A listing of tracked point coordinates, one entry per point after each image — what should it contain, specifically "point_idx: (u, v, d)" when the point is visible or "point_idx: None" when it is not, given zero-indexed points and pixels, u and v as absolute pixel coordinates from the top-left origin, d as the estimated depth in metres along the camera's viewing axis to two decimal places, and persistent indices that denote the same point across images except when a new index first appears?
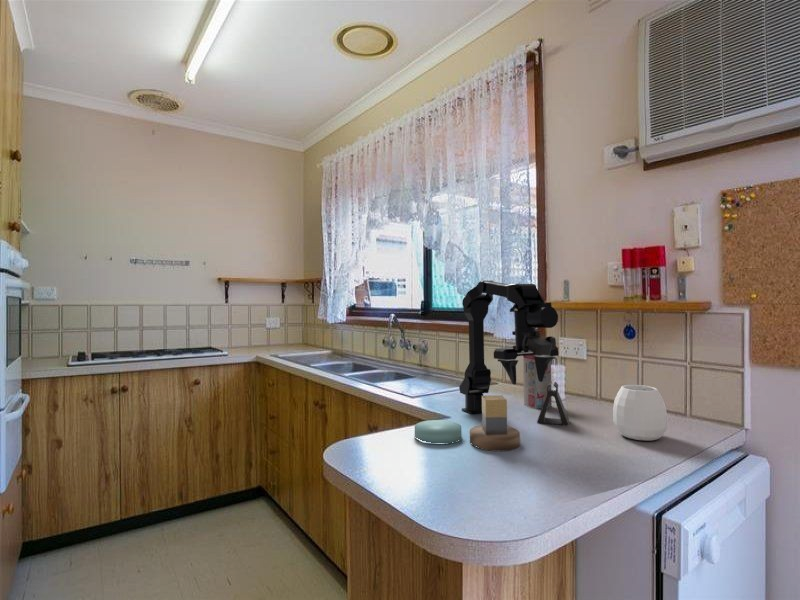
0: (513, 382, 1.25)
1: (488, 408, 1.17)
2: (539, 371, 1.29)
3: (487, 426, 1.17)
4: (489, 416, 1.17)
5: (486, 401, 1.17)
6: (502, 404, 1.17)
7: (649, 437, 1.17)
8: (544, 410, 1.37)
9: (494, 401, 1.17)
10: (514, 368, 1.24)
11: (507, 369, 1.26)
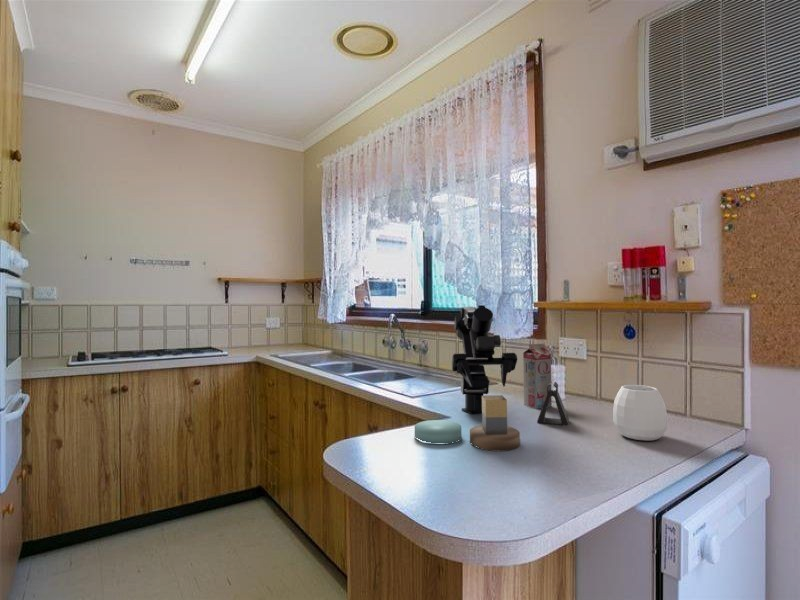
0: (470, 384, 1.28)
1: (488, 408, 1.17)
2: (502, 378, 1.30)
3: (487, 426, 1.17)
4: (489, 416, 1.17)
5: (486, 401, 1.17)
6: (502, 404, 1.17)
7: (649, 437, 1.17)
8: (544, 410, 1.37)
9: (494, 401, 1.17)
10: (467, 370, 1.30)
11: (465, 376, 1.31)
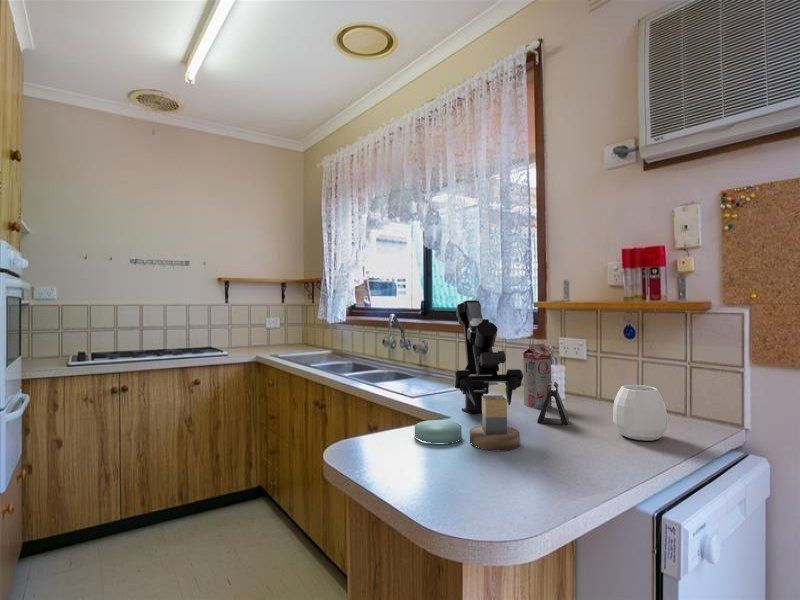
0: (474, 402, 1.22)
1: (488, 408, 1.17)
2: (507, 396, 1.24)
3: (487, 426, 1.17)
4: (489, 416, 1.17)
5: (486, 401, 1.17)
6: (502, 404, 1.17)
7: (649, 437, 1.17)
8: (544, 410, 1.37)
9: (494, 401, 1.17)
10: (471, 388, 1.24)
11: (468, 394, 1.25)
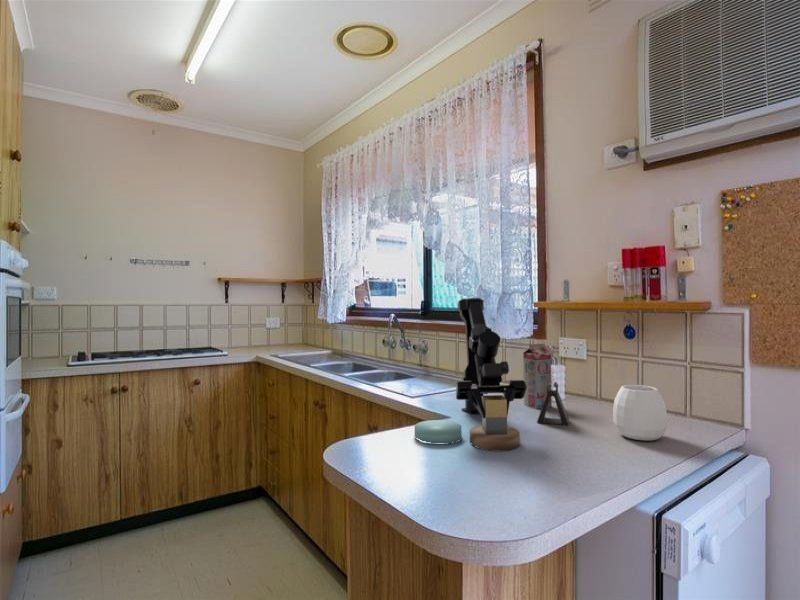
0: (482, 415, 1.19)
1: (488, 408, 1.17)
2: None
3: (487, 426, 1.17)
4: (489, 416, 1.17)
5: (486, 401, 1.17)
6: (502, 404, 1.17)
7: (649, 437, 1.17)
8: (544, 410, 1.37)
9: (494, 401, 1.17)
10: (479, 399, 1.20)
11: (476, 405, 1.22)
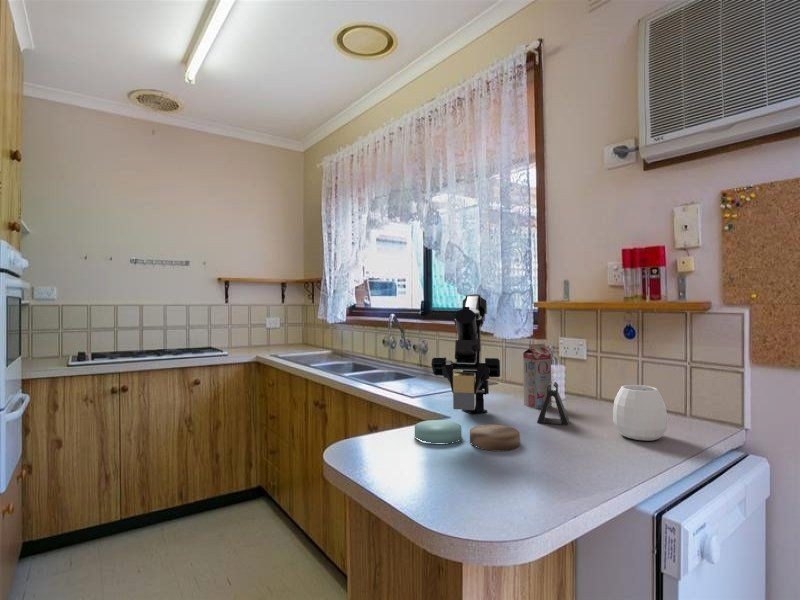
0: None
1: (455, 383, 1.19)
2: None
3: (454, 401, 1.19)
4: (456, 391, 1.19)
5: (453, 376, 1.19)
6: (469, 380, 1.18)
7: (649, 437, 1.17)
8: (544, 410, 1.37)
9: (461, 377, 1.19)
10: (450, 375, 1.23)
11: (449, 381, 1.25)
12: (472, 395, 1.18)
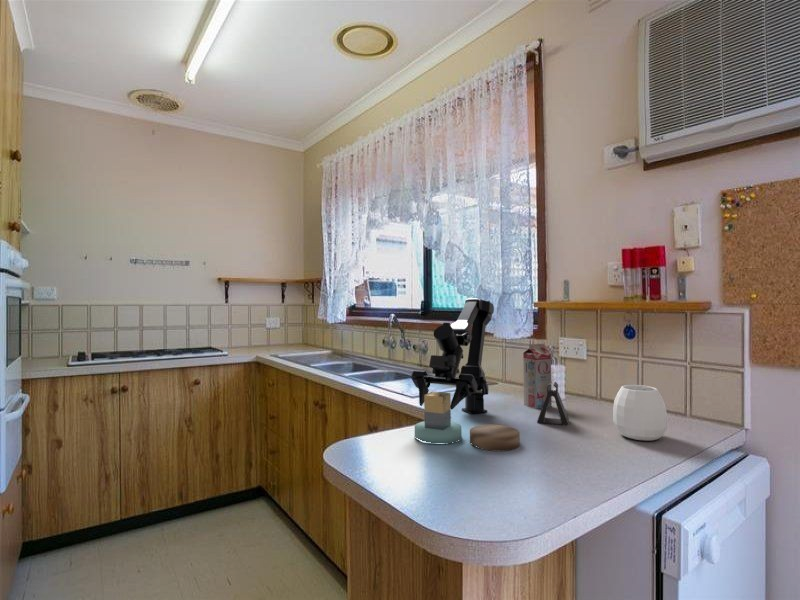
0: None
1: (426, 402, 1.24)
2: None
3: (425, 420, 1.24)
4: (427, 410, 1.23)
5: (425, 396, 1.24)
6: (438, 400, 1.22)
7: (649, 437, 1.17)
8: (544, 410, 1.37)
9: (432, 397, 1.23)
10: (421, 388, 1.28)
11: None
12: (441, 416, 1.21)
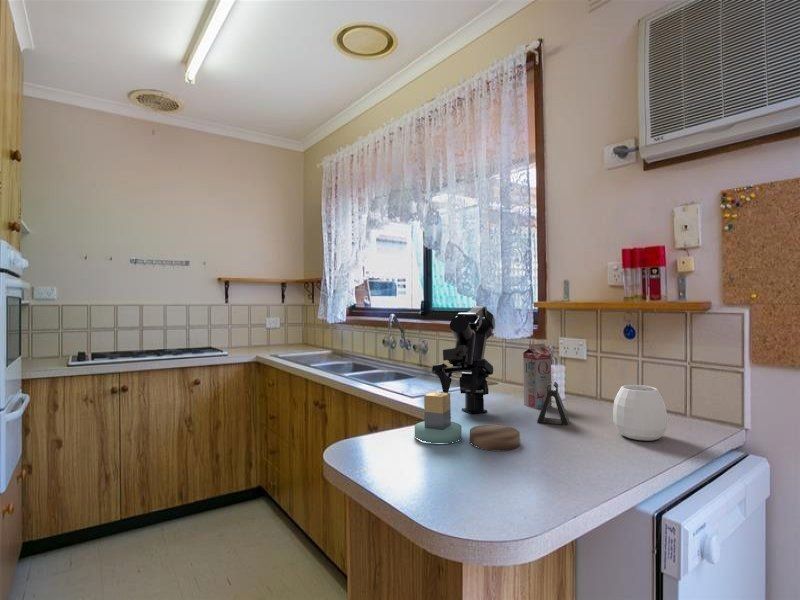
0: None
1: (426, 403, 1.24)
2: None
3: (425, 420, 1.24)
4: (427, 411, 1.23)
5: (425, 396, 1.24)
6: (438, 400, 1.22)
7: (649, 437, 1.17)
8: (544, 410, 1.37)
9: (431, 397, 1.23)
10: (442, 381, 1.37)
11: None
12: (441, 416, 1.21)
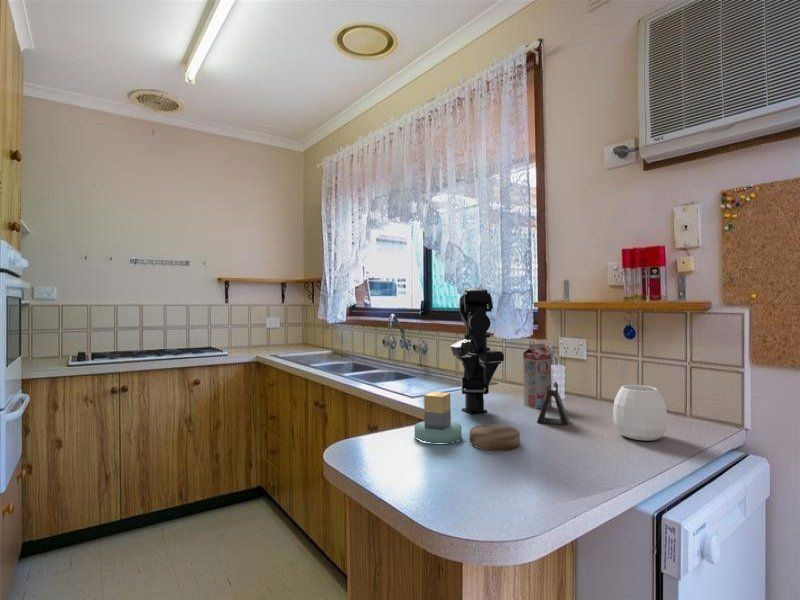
0: None
1: (426, 403, 1.24)
2: None
3: (425, 420, 1.24)
4: (427, 411, 1.23)
5: (425, 396, 1.24)
6: (438, 400, 1.22)
7: (649, 437, 1.17)
8: (544, 410, 1.37)
9: (431, 397, 1.23)
10: (464, 365, 1.41)
11: None
12: (441, 416, 1.21)
